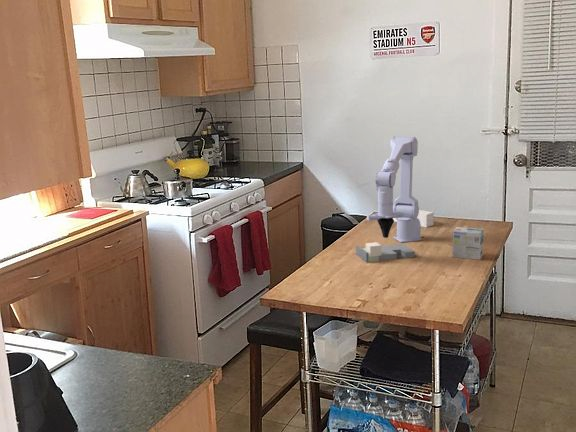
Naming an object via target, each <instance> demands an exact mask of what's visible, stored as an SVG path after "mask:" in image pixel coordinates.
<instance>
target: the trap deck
mask: <svg viewBox="0 0 576 432" xmlns="http://www.w3.org/2000/svg"><path fill="white" fill-rule="evenodd" d="M355 255H356V256H358V258H360V260H361V259H362V261H364V262H365V263H372V262H373V263H374V262H381V261H391V260H400V259H407V258H415V256H416V251H415V250H413V249H412V248H410V247H409V246H407V245H405V244H404V243H400V244H391V245H390V244H389V245H383V246H382V245H381V256H372V257H370V256H369V255H368V252H366V247H363V248H362V247H361V246H360V245H358V244H357V245H355Z"/></svg>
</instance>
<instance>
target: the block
mask: <svg viewBox="0 0 576 432" xmlns="http://www.w3.org/2000/svg"><path fill="white" fill-rule="evenodd" d="M381 246H382V245H381V244H380V243H378V242H377V241H375V242H374V241H373V242H367V243H365V248H366V252H368V255H369V256H370V257H372V256H381Z"/></svg>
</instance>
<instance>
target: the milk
mask: <svg viewBox="0 0 576 432" xmlns="http://www.w3.org/2000/svg"><path fill="white" fill-rule="evenodd" d="M434 214H435V213H434V211H427V210H422V209H419V214H418V217H417V218H418V219H419V220H420V224H421V228H429V227H431V226H434V220H435V219H434ZM393 220H394V223H397V219H396V218H393Z"/></svg>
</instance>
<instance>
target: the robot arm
mask: <svg viewBox="0 0 576 432" xmlns="http://www.w3.org/2000/svg"><path fill="white" fill-rule="evenodd" d="M418 144H419V143H418V139H417V138H416V137H415V136H395V135H394V136H393V137H392V138H391V139H390V144H389V145H390V147H389V148H390V151H391V153H390V156H389V158H387V159H386V160H385V161H384V163H383V165H382V168H381V170H380V171H378V172H377V173H376V175H375V180H374V181H375V186H376V192H377V212H376V213H372V214H366V221H368V222H372V221H377V223H378V225H379V228H380V230H381V233H382V237H383V238H384V239H386V238H387V239H388V238H389V235H390V231H391V229H392V226H393V225H394V223H395V222H394V220H393V218H396V219H397V222H396V236H393V237H392V238H393V239H395V240H396V241H398V242H400V243H406V242H415V241H422V237H421V232H422V231H421V229H422V227H421V224H420V220H419V219H418V218H417V217H418V214H419V210H420V207H419V201H418V200H417V199H416V197H414V196H413V192H412V191H413V165H414V164H413V163H414V162H413V161H414V158H415V157H417V156H418V150H419V149H418V147H419V145H418ZM399 168H400V180H399V181H400V185H399V188H400V189H399V196H398V197H397V198H395V199H394V186H395V185H396V179H397V174H398V171H399Z"/></svg>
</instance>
